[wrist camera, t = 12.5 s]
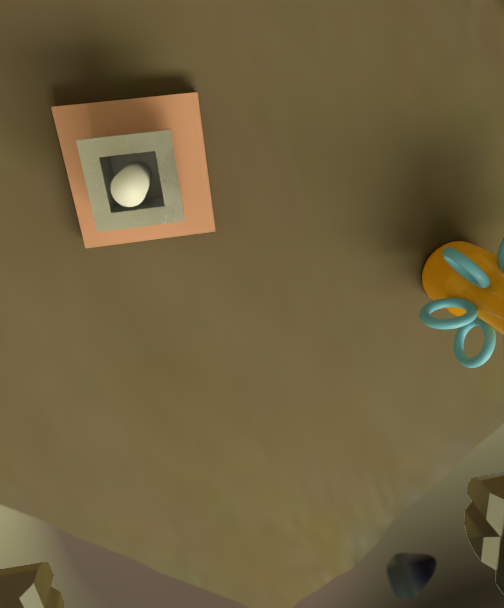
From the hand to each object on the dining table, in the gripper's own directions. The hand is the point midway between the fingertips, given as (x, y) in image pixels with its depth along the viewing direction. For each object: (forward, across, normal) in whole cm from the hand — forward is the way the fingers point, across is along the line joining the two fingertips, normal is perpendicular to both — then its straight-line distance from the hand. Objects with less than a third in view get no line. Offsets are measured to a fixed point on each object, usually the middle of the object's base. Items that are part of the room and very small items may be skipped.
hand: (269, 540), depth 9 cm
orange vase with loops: (+31, -22, +8) cm, 39 cm away
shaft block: (+31, +4, -4) cm, 32 cm away
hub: (+29, +4, -4) cm, 29 cm away
